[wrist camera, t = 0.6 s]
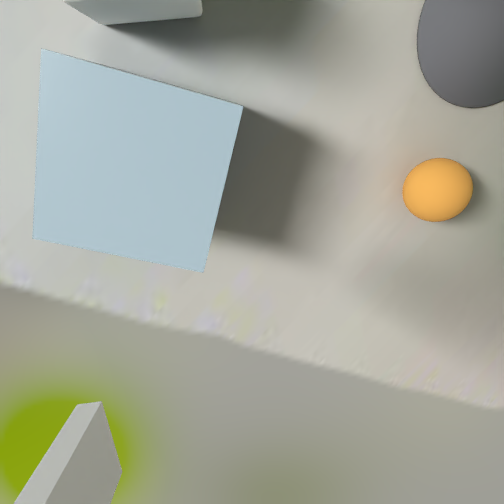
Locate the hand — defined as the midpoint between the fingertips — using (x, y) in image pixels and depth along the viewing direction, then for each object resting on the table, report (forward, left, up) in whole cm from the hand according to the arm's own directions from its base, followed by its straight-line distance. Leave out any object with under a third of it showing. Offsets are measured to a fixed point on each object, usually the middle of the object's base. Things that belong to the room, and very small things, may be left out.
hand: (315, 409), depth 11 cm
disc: (-18, +13, -22) cm, 31 cm away
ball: (-6, +13, -19) cm, 24 cm away
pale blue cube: (-3, -9, -22) cm, 23 cm away
